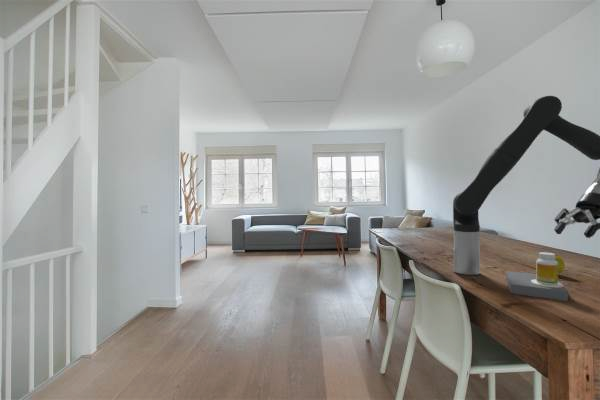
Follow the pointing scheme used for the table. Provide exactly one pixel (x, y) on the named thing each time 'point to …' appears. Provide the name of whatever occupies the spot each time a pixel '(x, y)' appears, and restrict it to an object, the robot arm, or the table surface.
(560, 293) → the plinth
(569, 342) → the table surface
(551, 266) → the supplement bottle
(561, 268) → the lemon
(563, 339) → the table surface
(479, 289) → the table surface
